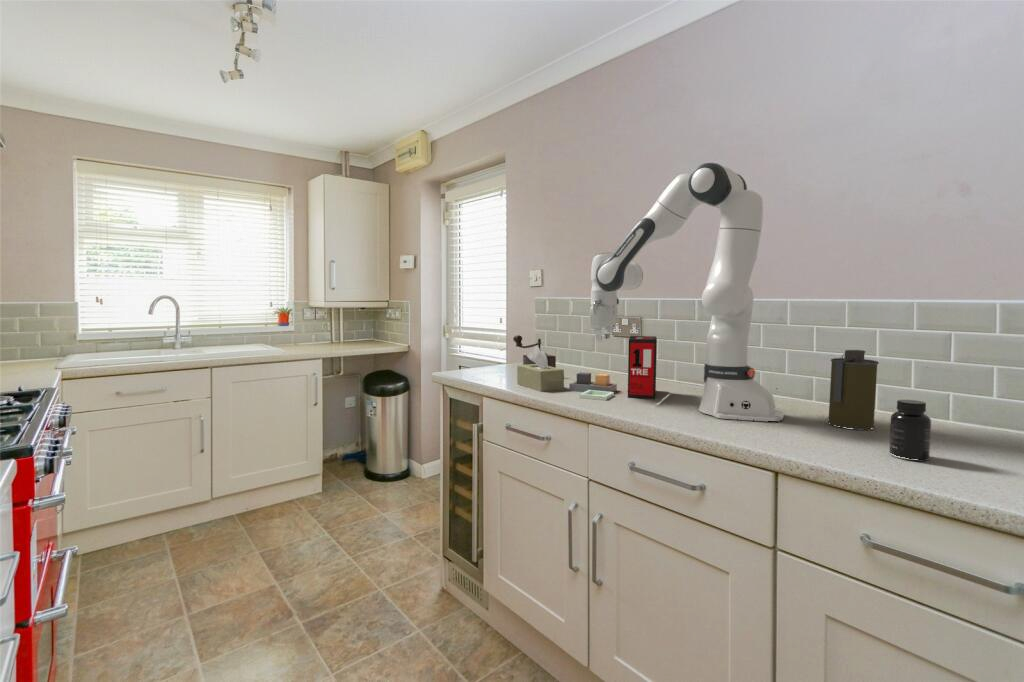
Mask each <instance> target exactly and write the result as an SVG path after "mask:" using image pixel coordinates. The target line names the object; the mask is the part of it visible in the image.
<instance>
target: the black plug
mask: <svg viewBox="0 0 1024 682" xmlns="http://www.w3.org/2000/svg"><path fill="white" fill-rule="evenodd" d="M576 381H577V384H584V385H590V384H591V382H592V373H591V372H582V371H581V372H577V373H576Z"/></svg>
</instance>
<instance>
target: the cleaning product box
mask: <svg viewBox="0 0 1024 682" xmlns="http://www.w3.org/2000/svg"><path fill="white" fill-rule="evenodd" d="M657 342H658V340H657V336H653V335H652V336H651V335H646V336H645V335H630V336H629V338H628V356H627V358H628V359H627V360H628V362H627V363H628V364H627V365H628V367H627V398H628V399H629V398H630V399H648V400H650V399H651V400H656V391H657V385H656V384H657V353H658V352H657V351H658V349H657V347H658V345H657V344H658V343H657Z"/></svg>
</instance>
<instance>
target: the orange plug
mask: <svg viewBox="0 0 1024 682" xmlns="http://www.w3.org/2000/svg"><path fill="white" fill-rule="evenodd" d="M610 377H611V376H610V374H609V373H598V374H595V378H594V380H595V381H594V382H595V385H596V386H610V383H611V379H610Z"/></svg>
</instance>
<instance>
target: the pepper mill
mask: <svg viewBox="0 0 1024 682" xmlns="http://www.w3.org/2000/svg"><path fill="white" fill-rule="evenodd" d="M522 340H523V337H522V335H519V334H518V335H514V337H513V338H512V341H513V342H514V343H515V347H519V348H522V349H529V348H533V347H539V349H540V351H542V349H541V344H542V338H538V339H537V341H538V342H537V343H534V344H529V345H523V344H522ZM545 354H546V356H547V362H548V366H551V367H555V368H557V367H556V363H557V360H556V355H552V354H548V353H546V352H545ZM526 355H527V354H523V355H522V361H523V362H522V365H528V364H536V363H535V362H533V361H531V360H530V359H529V358H528V357H527V356H526Z"/></svg>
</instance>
